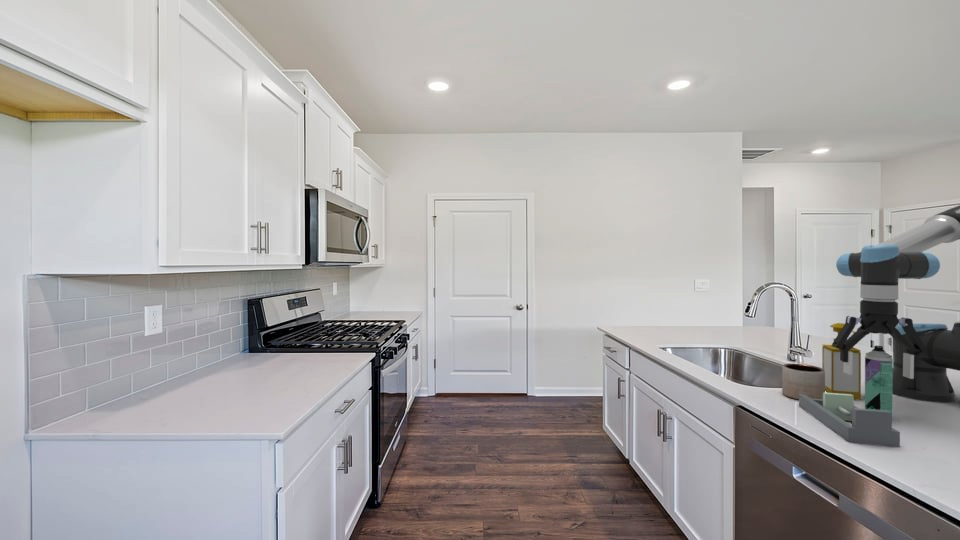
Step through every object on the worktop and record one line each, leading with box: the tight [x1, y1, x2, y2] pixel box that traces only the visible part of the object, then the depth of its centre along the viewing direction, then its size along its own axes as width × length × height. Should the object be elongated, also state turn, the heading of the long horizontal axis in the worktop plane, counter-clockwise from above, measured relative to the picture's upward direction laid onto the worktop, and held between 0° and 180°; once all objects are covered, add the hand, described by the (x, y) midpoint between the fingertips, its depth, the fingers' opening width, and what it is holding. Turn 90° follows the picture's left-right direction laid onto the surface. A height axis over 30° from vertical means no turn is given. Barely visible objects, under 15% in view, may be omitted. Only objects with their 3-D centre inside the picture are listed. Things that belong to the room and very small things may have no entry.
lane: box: [798, 394, 901, 447], centre depth 108 cm, size 10×25×8 cm, turn 163°
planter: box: [781, 363, 825, 401], centre depth 129 cm, size 11×11×10 cm
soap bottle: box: [821, 322, 862, 401], centre depth 127 cm, size 7×13×24 cm, turn 158°
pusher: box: [823, 393, 855, 422], centre depth 108 cm, size 6×5×7 cm
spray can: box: [864, 345, 894, 413], centre depth 112 cm, size 6×6×20 cm
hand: (877, 375), depth 111 cm, fingers open, 13 cm apart
